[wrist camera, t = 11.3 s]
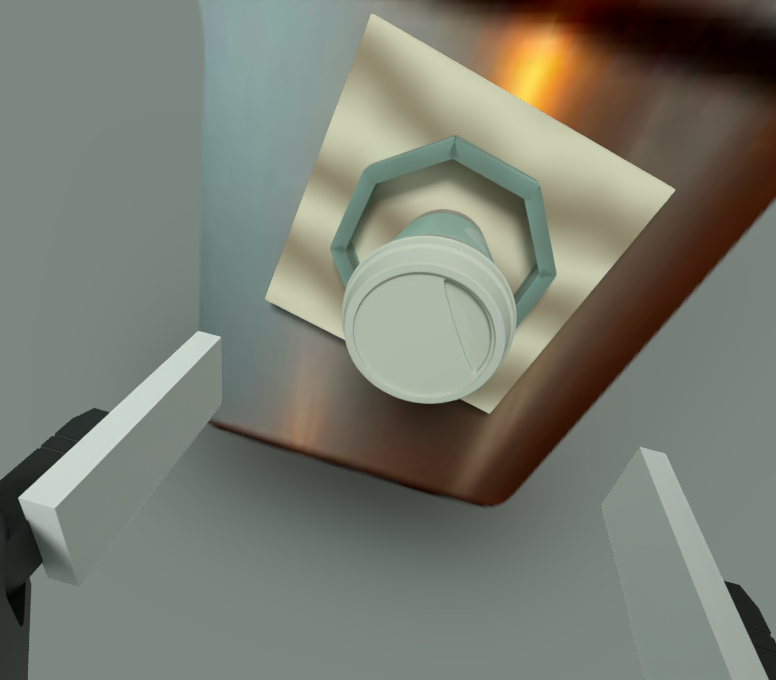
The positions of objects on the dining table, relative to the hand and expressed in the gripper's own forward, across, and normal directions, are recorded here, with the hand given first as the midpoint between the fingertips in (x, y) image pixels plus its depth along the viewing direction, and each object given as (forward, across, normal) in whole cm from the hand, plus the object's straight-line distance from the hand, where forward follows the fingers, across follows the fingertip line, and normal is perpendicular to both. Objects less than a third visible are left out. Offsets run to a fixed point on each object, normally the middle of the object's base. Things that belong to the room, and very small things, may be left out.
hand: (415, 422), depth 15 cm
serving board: (+21, 0, -1) cm, 21 cm away
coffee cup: (+19, 0, -1) cm, 19 cm away
